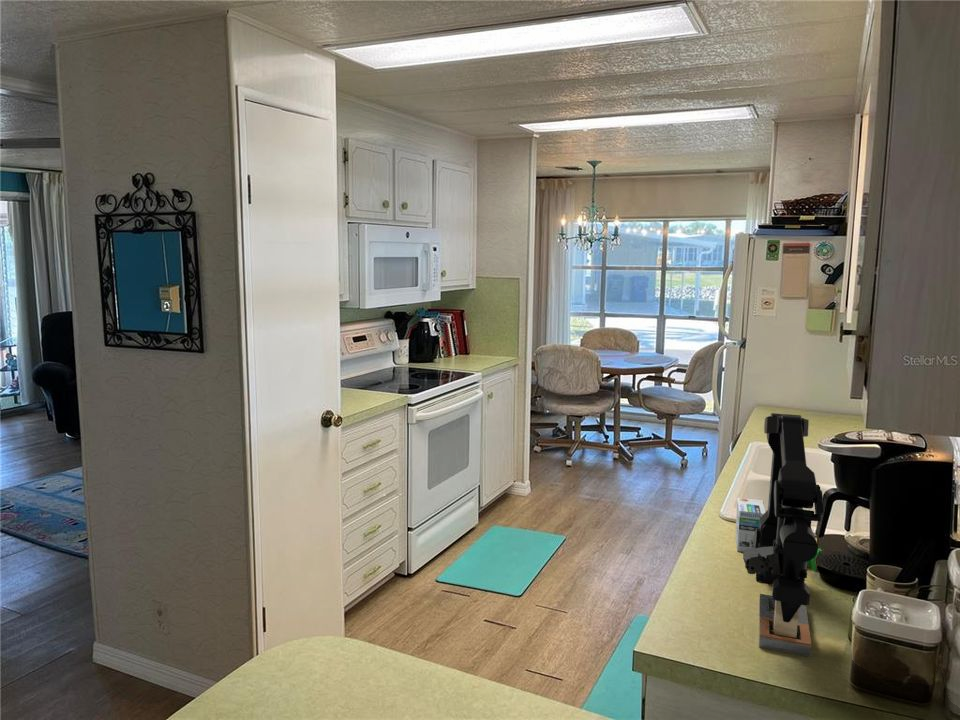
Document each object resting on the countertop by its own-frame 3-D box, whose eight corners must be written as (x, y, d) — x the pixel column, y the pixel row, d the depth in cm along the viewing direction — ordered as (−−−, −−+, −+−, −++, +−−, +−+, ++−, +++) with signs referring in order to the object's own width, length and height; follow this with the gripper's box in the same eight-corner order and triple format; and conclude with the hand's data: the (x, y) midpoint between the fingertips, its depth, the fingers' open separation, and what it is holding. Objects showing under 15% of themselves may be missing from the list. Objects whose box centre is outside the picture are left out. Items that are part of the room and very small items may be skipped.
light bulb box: (764, 555, 180) (768, 514, 179) (736, 551, 182) (739, 511, 180) (761, 538, 190) (764, 499, 189) (734, 535, 192) (736, 496, 191)
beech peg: (773, 623, 144) (776, 586, 142) (795, 627, 142) (798, 589, 141) (773, 633, 140) (777, 595, 139) (796, 638, 139) (799, 598, 137)
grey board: (759, 602, 156) (759, 592, 156) (804, 610, 153) (805, 600, 153) (759, 647, 139) (759, 636, 138) (810, 657, 136) (811, 646, 135)
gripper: (748, 517, 150) (742, 588, 152) (746, 552, 132) (740, 631, 135) (807, 525, 146) (800, 597, 148) (813, 562, 128) (805, 644, 131)
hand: (785, 616), depth 141 cm, fingers closed on beech peg, 4 cm apart
